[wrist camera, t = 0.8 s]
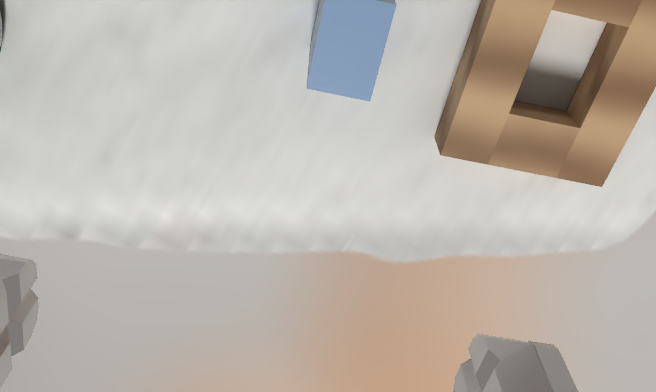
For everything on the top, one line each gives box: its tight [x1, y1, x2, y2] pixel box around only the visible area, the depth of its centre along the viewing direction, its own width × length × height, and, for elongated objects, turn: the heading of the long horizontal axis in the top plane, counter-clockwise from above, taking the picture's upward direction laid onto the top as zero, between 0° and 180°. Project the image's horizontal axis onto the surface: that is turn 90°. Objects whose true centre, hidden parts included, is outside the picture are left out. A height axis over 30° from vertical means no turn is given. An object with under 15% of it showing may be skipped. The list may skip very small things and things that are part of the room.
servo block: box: [307, 0, 396, 101], centre depth 38 cm, size 9×4×8 cm, turn 168°
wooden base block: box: [434, 0, 656, 187], centre depth 42 cm, size 16×13×3 cm
